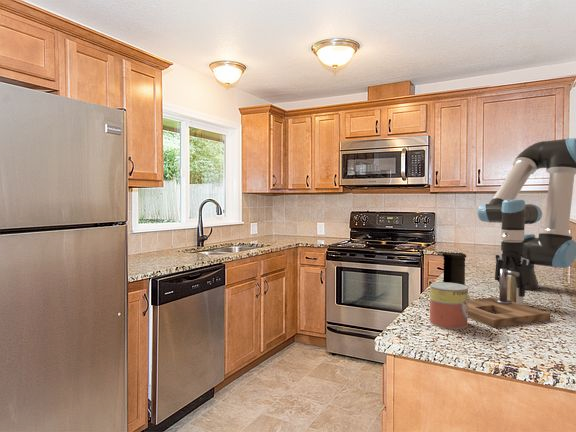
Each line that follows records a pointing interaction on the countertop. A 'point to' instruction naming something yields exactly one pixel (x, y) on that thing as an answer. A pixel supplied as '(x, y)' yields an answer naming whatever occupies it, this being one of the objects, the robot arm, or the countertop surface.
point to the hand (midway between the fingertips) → (511, 302)
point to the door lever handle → (505, 285)
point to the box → (511, 288)
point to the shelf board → (503, 313)
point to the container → (454, 268)
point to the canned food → (449, 305)
